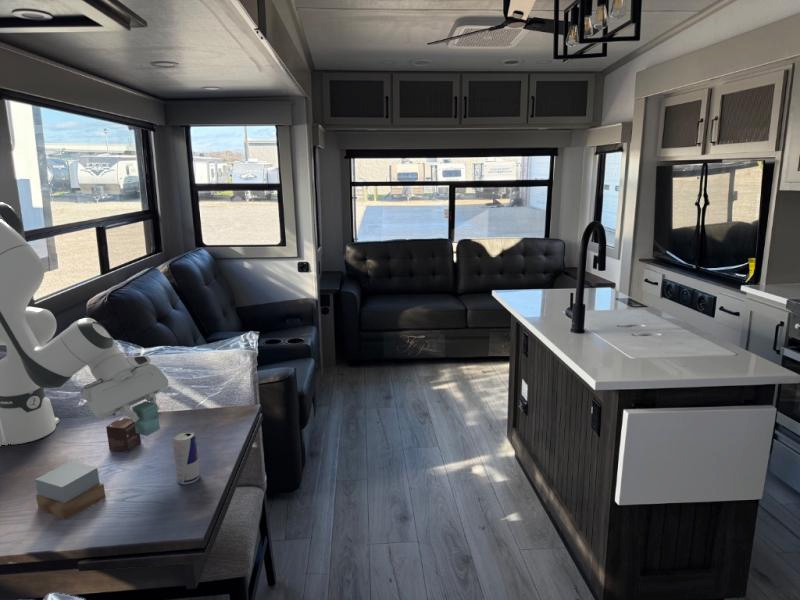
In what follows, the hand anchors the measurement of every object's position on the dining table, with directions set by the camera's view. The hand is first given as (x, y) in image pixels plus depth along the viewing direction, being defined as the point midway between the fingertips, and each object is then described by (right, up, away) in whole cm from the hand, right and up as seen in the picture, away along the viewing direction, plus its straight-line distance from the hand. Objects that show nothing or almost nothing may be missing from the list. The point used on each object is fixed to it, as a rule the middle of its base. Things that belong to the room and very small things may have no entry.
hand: (147, 415), depth 142 cm
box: (-14, -13, +18) cm, 26 cm away
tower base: (-14, -19, -9) cm, 25 cm away
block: (0, -4, +1) cm, 4 cm away
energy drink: (+10, -16, 0) cm, 19 cm away
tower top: (-14, -15, -9) cm, 23 cm away
